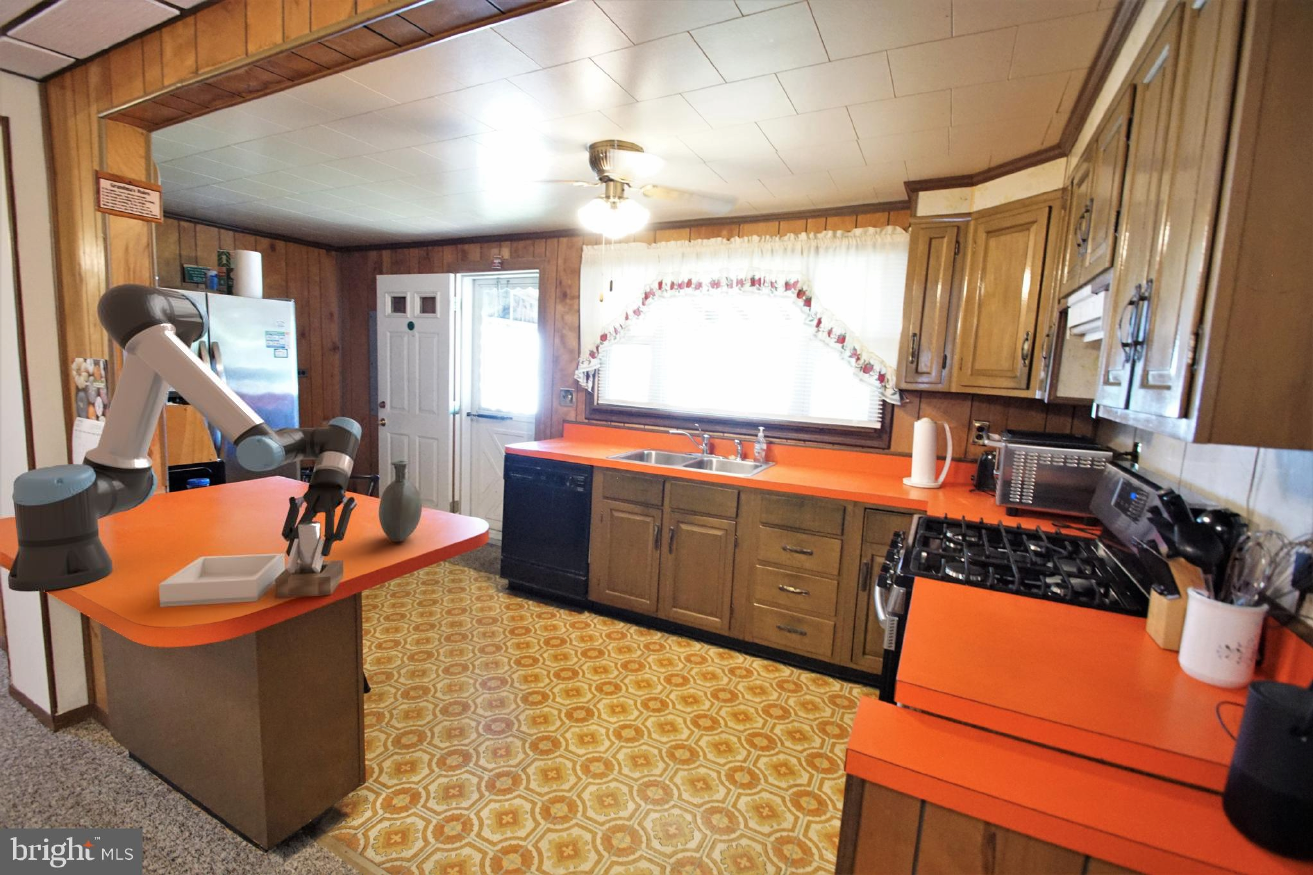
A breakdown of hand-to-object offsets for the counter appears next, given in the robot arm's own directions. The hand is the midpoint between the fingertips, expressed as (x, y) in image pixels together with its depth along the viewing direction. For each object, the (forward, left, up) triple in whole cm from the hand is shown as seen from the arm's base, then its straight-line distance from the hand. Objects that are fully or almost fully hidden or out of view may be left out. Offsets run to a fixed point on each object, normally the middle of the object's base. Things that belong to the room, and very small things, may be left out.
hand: (302, 569), depth 116 cm
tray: (-16, +6, -5) cm, 17 cm away
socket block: (0, +4, -5) cm, 6 cm away
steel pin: (0, +4, -5) cm, 6 cm away
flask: (+13, +36, -6) cm, 39 cm away
